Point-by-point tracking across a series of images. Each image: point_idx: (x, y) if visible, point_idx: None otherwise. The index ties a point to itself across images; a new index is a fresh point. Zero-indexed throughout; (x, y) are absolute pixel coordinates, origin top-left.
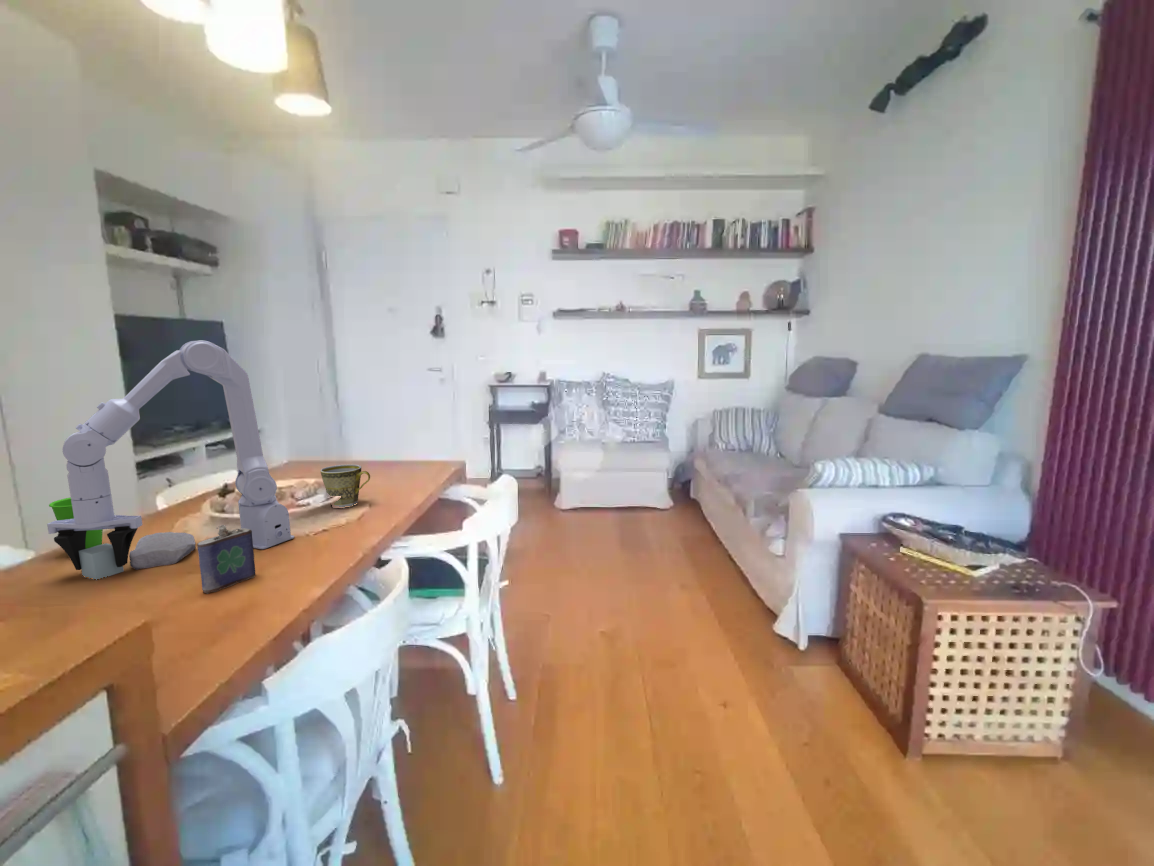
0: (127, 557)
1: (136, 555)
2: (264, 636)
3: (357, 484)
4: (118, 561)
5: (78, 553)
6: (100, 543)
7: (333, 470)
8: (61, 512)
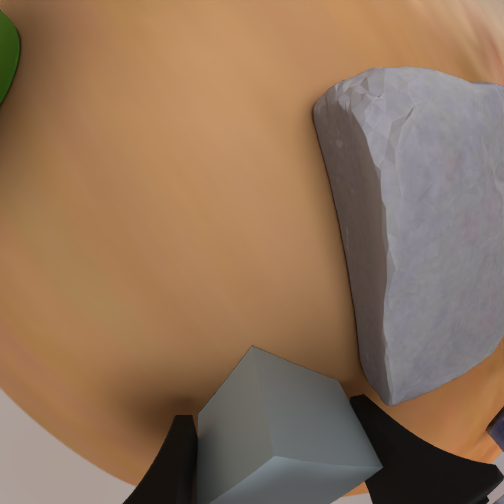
0: (378, 409)
1: (410, 396)
2: (493, 461)
3: None
4: None
5: (191, 496)
6: (7, 40)
7: None
8: None
